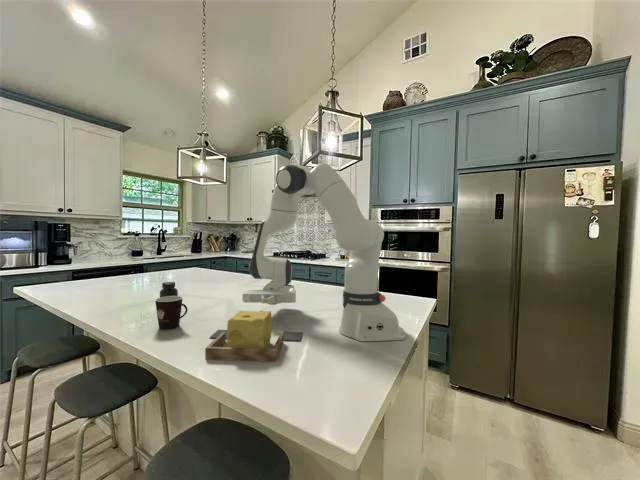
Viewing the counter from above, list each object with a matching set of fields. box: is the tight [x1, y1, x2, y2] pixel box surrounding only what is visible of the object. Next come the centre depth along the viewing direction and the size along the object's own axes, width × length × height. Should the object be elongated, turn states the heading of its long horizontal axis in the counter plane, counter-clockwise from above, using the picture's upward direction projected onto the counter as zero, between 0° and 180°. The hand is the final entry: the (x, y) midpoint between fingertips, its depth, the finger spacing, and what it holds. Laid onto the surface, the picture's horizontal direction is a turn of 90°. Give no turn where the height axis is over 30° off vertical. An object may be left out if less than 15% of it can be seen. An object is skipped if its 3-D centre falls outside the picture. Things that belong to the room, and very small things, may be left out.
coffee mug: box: [154, 295, 188, 331], centre depth 102 cm, size 12×9×10 cm
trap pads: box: [209, 329, 304, 342], centre depth 96 cm, size 29×7×1 cm, turn 88°
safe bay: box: [204, 332, 284, 363], centre depth 84 cm, size 19×12×3 cm, turn 88°
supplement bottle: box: [159, 281, 179, 298], centre depth 122 cm, size 7×7×12 cm
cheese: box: [226, 310, 273, 349], centre depth 86 cm, size 10×11×10 cm
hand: (265, 301), depth 104 cm, fingers closed
